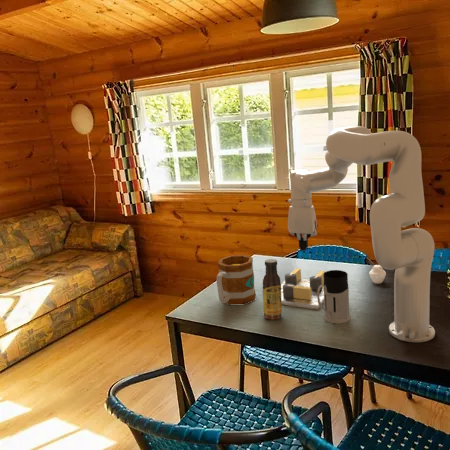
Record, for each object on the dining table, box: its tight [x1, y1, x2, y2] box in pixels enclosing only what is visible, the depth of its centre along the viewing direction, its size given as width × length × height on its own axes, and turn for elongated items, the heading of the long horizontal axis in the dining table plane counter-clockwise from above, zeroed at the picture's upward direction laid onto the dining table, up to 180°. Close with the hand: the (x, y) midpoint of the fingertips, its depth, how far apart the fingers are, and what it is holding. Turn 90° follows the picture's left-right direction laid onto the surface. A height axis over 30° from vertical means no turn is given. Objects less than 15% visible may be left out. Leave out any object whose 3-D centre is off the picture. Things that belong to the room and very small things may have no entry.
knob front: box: [283, 284, 312, 300], centre depth 162 cm, size 10×4×4 cm, turn 59°
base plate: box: [281, 278, 324, 311], centre depth 169 cm, size 22×20×4 cm
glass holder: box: [317, 269, 352, 324], centre depth 145 cm, size 9×14×15 cm, turn 133°
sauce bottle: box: [262, 258, 283, 321], centre depth 150 cm, size 6×6×20 cm
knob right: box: [309, 270, 326, 291], centre depth 171 cm, size 10×4×4 cm, turn 149°
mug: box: [216, 254, 256, 305], centre depth 167 cm, size 20×14×15 cm
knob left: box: [284, 267, 302, 286], centre depth 176 cm, size 10×4×4 cm, turn 149°
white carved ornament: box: [368, 264, 387, 284], centre depth 173 cm, size 6×6×7 cm
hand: (303, 249), depth 173 cm, fingers closed
